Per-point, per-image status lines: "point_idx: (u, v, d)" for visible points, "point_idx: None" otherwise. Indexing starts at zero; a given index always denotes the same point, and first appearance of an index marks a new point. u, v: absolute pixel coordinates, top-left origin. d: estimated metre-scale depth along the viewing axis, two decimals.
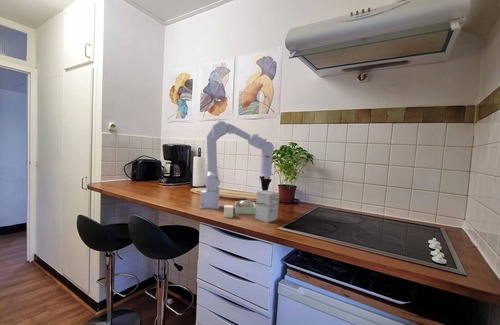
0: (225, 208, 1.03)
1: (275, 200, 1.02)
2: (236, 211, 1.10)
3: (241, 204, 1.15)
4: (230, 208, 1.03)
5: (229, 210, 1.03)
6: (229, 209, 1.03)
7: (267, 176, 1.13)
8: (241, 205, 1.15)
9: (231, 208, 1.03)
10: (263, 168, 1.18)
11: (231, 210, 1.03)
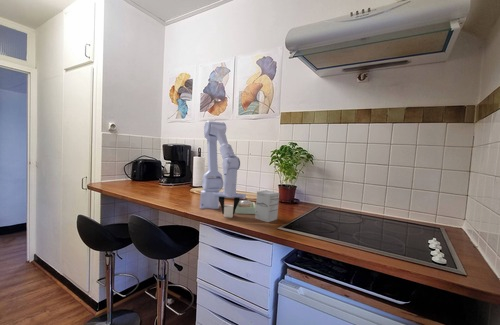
0: (225, 208, 1.03)
1: (275, 200, 1.02)
2: (236, 211, 1.10)
3: (241, 204, 1.15)
4: (230, 208, 1.03)
5: (229, 210, 1.03)
6: (229, 209, 1.03)
7: (213, 194, 1.04)
8: (241, 205, 1.15)
9: (231, 208, 1.03)
10: None
11: (231, 210, 1.03)
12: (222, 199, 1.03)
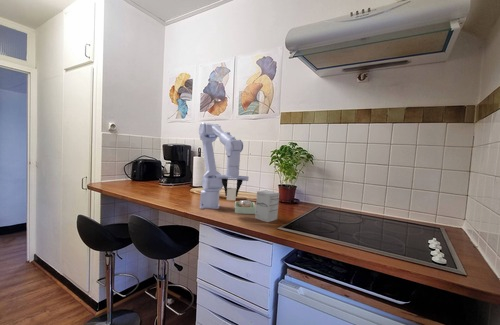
0: (228, 190, 1.04)
1: (275, 200, 1.02)
2: (236, 211, 1.10)
3: (241, 204, 1.15)
4: (233, 190, 1.04)
5: (232, 192, 1.04)
6: (232, 191, 1.04)
7: (216, 176, 1.05)
8: (241, 205, 1.15)
9: (234, 190, 1.04)
10: None
11: (234, 192, 1.04)
12: (225, 181, 1.04)
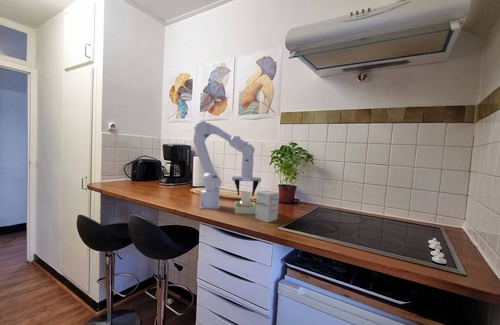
0: (243, 193, 1.15)
1: (275, 200, 1.02)
2: (236, 211, 1.10)
3: (241, 204, 1.15)
4: (247, 193, 1.15)
5: (246, 195, 1.15)
6: (246, 194, 1.15)
7: (232, 178, 1.16)
8: (241, 205, 1.15)
9: (248, 193, 1.15)
10: None
11: (248, 194, 1.15)
12: (238, 182, 1.15)
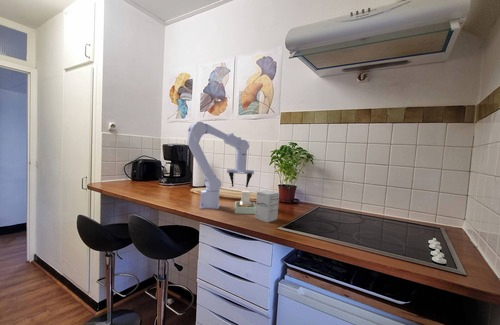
0: (243, 193, 1.15)
1: (275, 200, 1.02)
2: (236, 211, 1.10)
3: (241, 204, 1.15)
4: (247, 193, 1.15)
5: (246, 195, 1.15)
6: (246, 194, 1.15)
7: (227, 170, 1.26)
8: (241, 205, 1.15)
9: (248, 193, 1.15)
10: None
11: (248, 195, 1.15)
12: (232, 174, 1.24)
